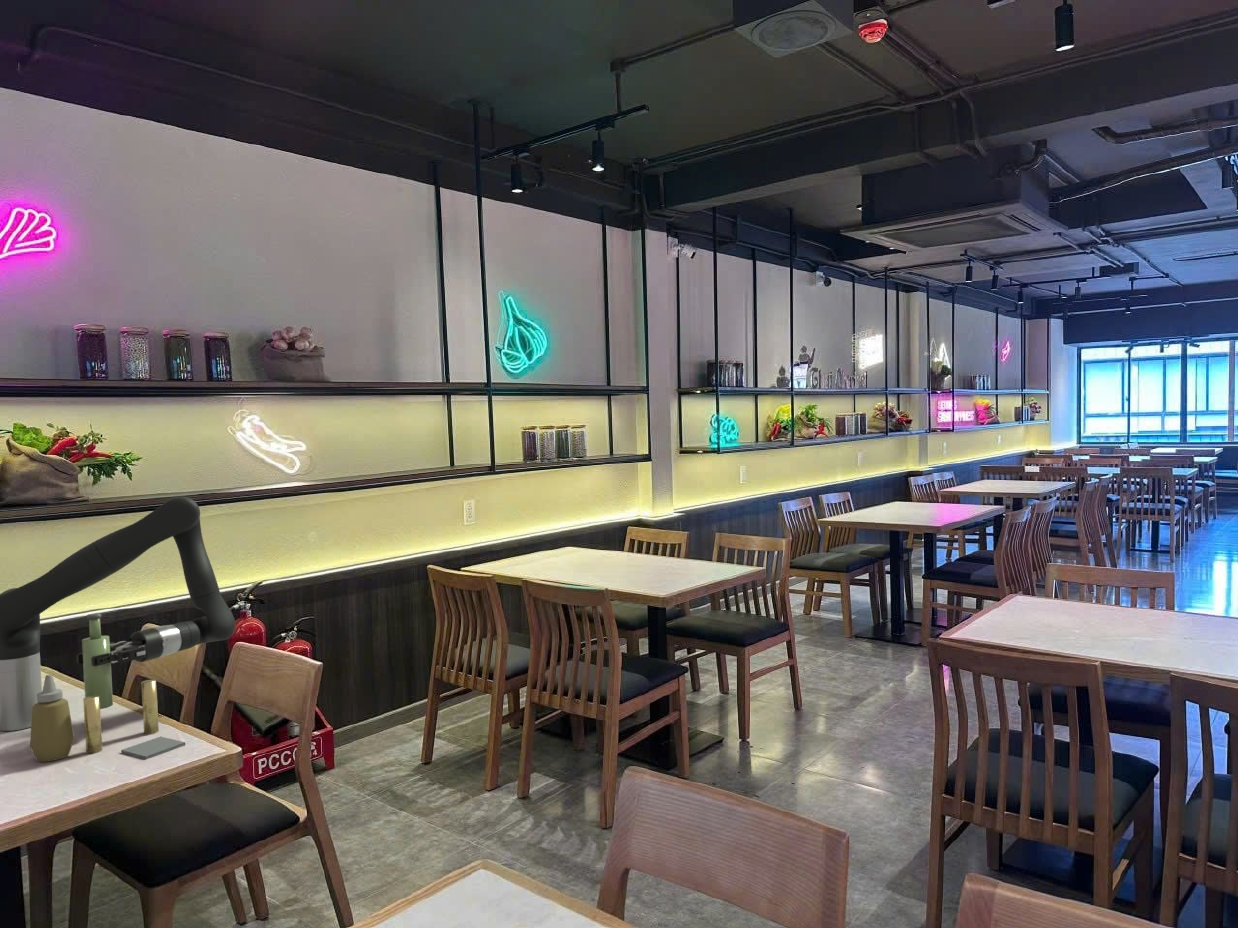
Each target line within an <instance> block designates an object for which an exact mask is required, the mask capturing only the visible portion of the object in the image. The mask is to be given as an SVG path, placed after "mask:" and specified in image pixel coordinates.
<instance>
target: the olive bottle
mask: <svg viewBox="0 0 1238 928" xmlns="http://www.w3.org/2000/svg"><path fill="white" fill-rule="evenodd" d="M101 618H102V613H98V612H97V613H96V612H95V613H90V614H89V613H88V614H87V616H86V619H87V620H88V623H89V624H88V626H89V637H86V638H82V639H81V649H82V653H83V663H82V664H83V665H82V666H83V683H84V698H85V697H88V696H94V695H98V696H99V697H100V710H103V709H107V708H111V707H112V706H113V705H114V698H113V696H114V695H113V681H112V680H113V679H112V665H111V664H112V663H106V664H103V665H99V666H92V663H91V658H92V657H93V656H97V655H101V654H105V653H109V654H110V642H111V641H110V635H102V631H101Z"/></svg>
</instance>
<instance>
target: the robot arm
mask: <svg viewBox="0 0 1238 928" xmlns="http://www.w3.org/2000/svg"><path fill="white" fill-rule="evenodd" d="M170 538H173V539H174V542H175V544H176V547H177V549H178V553H179V555H180V561H181V565H182V570H183V576H184V580H185V584H186V588H187V591H188V595H189V598H190V601H191V604H192V606H193V607H194V608H195V609H198V610H201V611H202V612H203V613H204V616H201V617H197V618H194V619H191V620H189V621H188V620H187V621H182V622H181V621H180V622H177V623H173V624H167V625H159V626H156V627H151V628H146V629H143V630H138V631H135V632H133V633H132V634H131V635H130V637H129V640H128V641H127V640H122V641H117V642H116V643H115V642H114V641H109V642H110V654H109V653H105V654H101V655H97V656H93V657H92V658H91V663H92V666H99V665H103V664H106V663H111V664H115V663H117V664H122V663H126V662H132V661H136V662H138V663H144V662H147V661H152V660H157V659H159V658H163V657H167V656H170V655H173V654H175V653H176V652H182V651H185V650H189V649H192V648H194V647H195V646H197V645H202V644H207V643H212V642H218V641H219V642H220V641H226V640H229V639H230V638H231V637H233V635H234V634H235V631H236V619H235V616H234V615H233V613H232V610H231V608H230V607H229V606H228V604H227V602H226V601H225V600H224V598H223V597H222V594H221V590H220V588H219V585H218V581H217V578H216V575H215V571H214V570H213V565H212V564H211V561H210V559H209V558H210V557H209V555H208V552H207V549H206V547H205V543H204V539H203V533H202V528H201V509H200V507H199V505H198V503H197V502H196V501H195V500H194V499H192V498H190V497H188V496H173V497H171V498H169V499H167V500H166V501H165V502H164V503H162V504H161V505H160V506H158V507H157V508H156V509H154V510H153V511H151V512H150V513H149V514H147V515H145V516H143V518H140V519H139V520H138V521H136V522H134V523H132V524H129V525H127V526H125V527H122V528H120V529H118V530H115V531H113V532H111V533H109V534H106V535H104V536H102V537H100V538H98V539H97V540H94V541H92V542H91V543H89V544H88V545H85V546H84V547H82V548H80V549H79V550H77V551H76V552H74V553H72V554H71V555H69V556H67V557H66V558H65V559H63V560H62V561H61V562H59V563H57V565H55V566H54V567H53V568H51V569H50V570H49V571H47V572H45V573H44V574H42V575H41V576H39V577H37V578H36V579H33V580H32V581H29V582H28V583H25V584H23V585H22V586H18V587H14V588H9V589H6V590H5V591H3V592H2V593H0V731H1V732H12V731H18V730H19V731H20V730H24V729H28V728H31V721H32V707H33V706H34V705H35V704H36V703H38V702H37V694H38V693H39V692H42V691H43V685H42V684H43V683H42V668H41V666H42V665H41V654H40V653H41V652H40V650H41V649H40V646H41V645H40V644H41V643H40V642H41V613H44V611H47V610H48V609H49V608H51V607H52V606H53V605H56V604H57V603H59V602H60V601H62V600H65V599H66V598H68V597H71V596H72V595H75V594H78V593H79V592H81V591H84V590H86V589H88V588H90V587H91V586H93V585H96V584H97V583H99V582H101V581H103V580H104V579H107V578H108V577H110V576H112V575H113V574H115V573H117V572H119V571H120V570H122V569H123V568H126V567H127V566H128V565H129V564H131V563H133V561H135V560H136V559H138V558H139V557H140V556H142V555H143V554H144V553H145V552H147V551H149V550H150V548H153V547H154V546H156V545H157V544H160V543H162V542H164V541H166V540H168V539H170ZM76 664H83V652H81V653H77V655H76Z"/></svg>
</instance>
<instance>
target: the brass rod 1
mask: <svg viewBox="0 0 1238 928" xmlns="http://www.w3.org/2000/svg"><path fill="white" fill-rule="evenodd" d="M82 701H83V715H84V734H85V738H84V739H85V753H86V754H89V755H90V754H93V755H94V754H97V753H99V752H101V751H103V739H102V738H103V737H102V736H103V735H102V719H101V717H102V716H101V709H100V697H99V696H98V695H94V696H88V697H85V696H84V698H83V699H82Z"/></svg>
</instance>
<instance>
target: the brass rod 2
mask: <svg viewBox="0 0 1238 928" xmlns="http://www.w3.org/2000/svg"><path fill="white" fill-rule="evenodd" d="M140 683H141V697H142V719H143V734H144V735H153V734H156V733H158V732H159V731H160V730H159V728H160V727H159V712H158V710H159V709H158V691H157V679H146V680H143V681H141V682H140Z"/></svg>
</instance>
